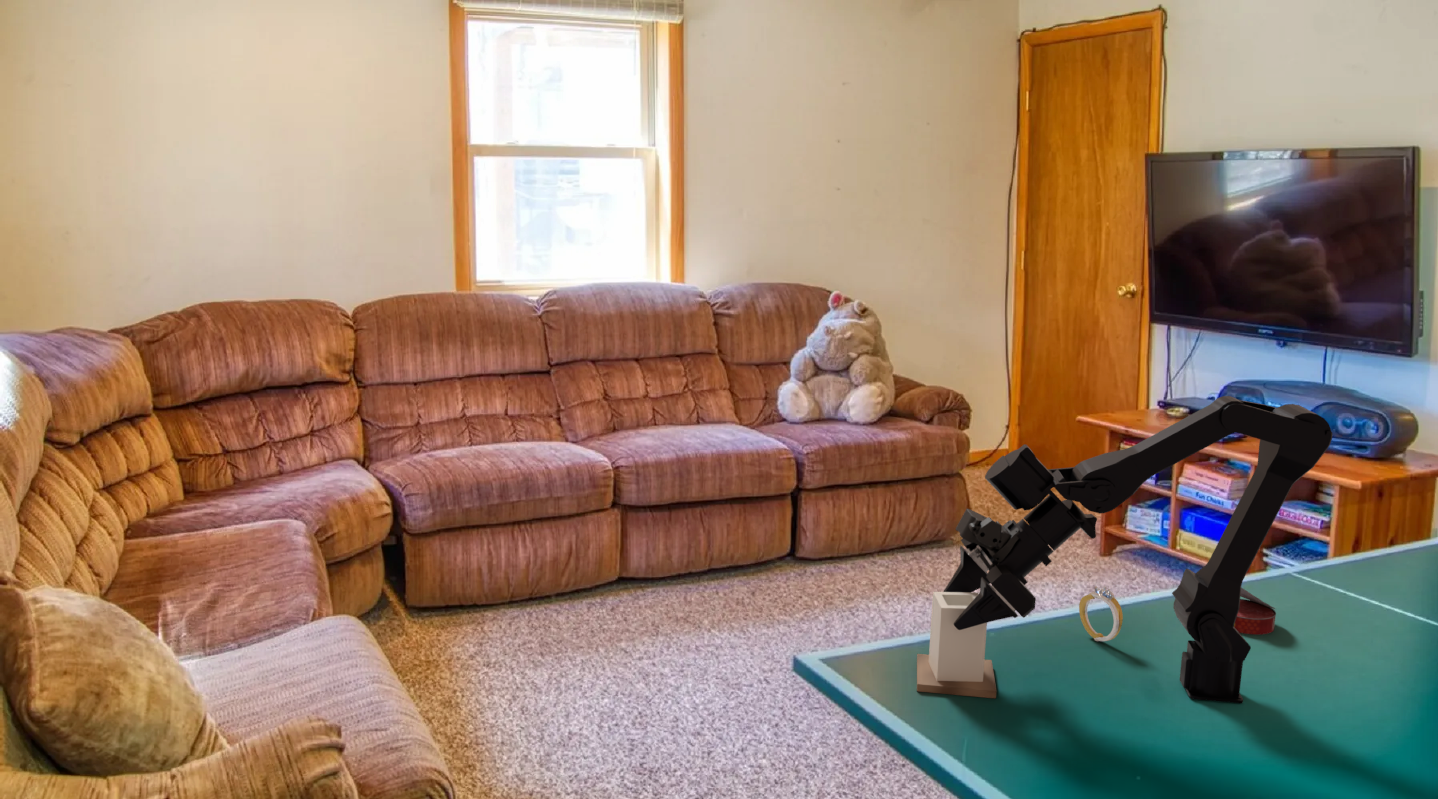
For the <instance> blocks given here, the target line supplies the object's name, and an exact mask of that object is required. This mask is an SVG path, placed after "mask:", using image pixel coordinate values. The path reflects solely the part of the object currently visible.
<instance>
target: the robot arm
mask: <svg viewBox="0 0 1438 799" xmlns="http://www.w3.org/2000/svg"><path fill="white" fill-rule="evenodd" d="M1233 434H1241V435H1244V436H1245V435H1246V436H1248V437H1251V438H1255V439H1258V440H1259V442H1258V443H1259V444H1258V445H1259V446H1258V454H1257V456H1258V457H1257V464H1256V469H1255V470H1254V472H1253V474H1252V476H1251V478H1250V480H1249V481H1248V484H1247V486H1246V488H1245V489H1244V492H1243V493H1242V496H1241V498H1240V499H1239V502H1238V504H1237V506H1236V507H1235V510H1234V511H1233V513H1232V515H1231V517H1230V519H1229V521H1228V523H1227V525H1226V527H1225V528H1224V531H1223V533H1222V534H1221V537H1220V539H1219V540H1218V543H1217V544H1216V547H1215V549H1214V550H1213V553H1212V554H1211V557H1210V558H1209V561H1208V562H1207V563H1206V564H1205V565H1204V566H1203V567H1201V568H1200V569H1199V570H1198V571H1196V572H1194V571H1193V570H1191V569H1189V568H1185V570H1184V572H1183V573H1182V578H1181V580H1180V583H1179V584H1178V586H1177V588H1176V589H1175V590H1173V591H1171V592H1172V593H1171V595H1172V596H1173V598H1174V602H1173V611H1174V613H1175V616H1176V618H1177V619H1178V621H1179V622H1180V623H1181V625H1182V626H1183V628H1184V629H1185V630H1186V631H1187V633H1188V634H1189V635H1190V637H1191V638H1192V640H1190V639H1189V640H1187V647H1186V651H1183V652H1182V654H1181V661H1180V662H1181V663H1180V671H1179V672H1180V674H1179V682H1180V684H1181V685H1182V688H1183V689H1184V690H1185V691H1186V693H1187V695H1188V697H1189V698H1190V699H1192V700H1198V701H1207V702H1208V701H1211V702H1219V703H1220V702H1221V703H1231V704H1233V703H1234V704H1243V703H1244V698H1243V696H1242V695H1241V693H1240V692H1241V683H1242V675H1243V674H1242V673H1243V665H1244V661H1245V660H1246V658H1247V656H1248V654H1249V653H1250V651H1251V645H1250V644H1249V642H1248V641H1247V640H1246V639H1245V638H1244V637H1243V635H1241V634H1242V633H1239V632H1238V631H1237V630H1236V629H1235V627H1234V624H1235V621H1236V617H1237V614H1238V611H1239V606H1240V599H1241V596H1240V595H1241V588H1242V585H1243V582H1244V579H1245V577H1246V575H1247V573H1248V572H1249V569H1250V568H1251V566H1252V564H1253V562H1254V560H1255V558H1256V556H1257V554H1258V552H1259V550H1260V549H1261V546H1262V545H1263V542H1264V541H1265V539H1266V537H1267V535H1268V533H1269V531H1270V530H1271V527H1272V525H1273V524H1274V521H1275V519H1276V518H1277V516H1278V514H1279V512H1280V510H1281V509H1282V506H1283V504H1284V502H1285V500H1286V498H1287V496H1288V495H1289V493H1290V491H1291V489H1292V488H1293V486H1294V484H1295V483H1296V482H1297V481H1299V480H1300V479H1301V478H1302V477H1303V476H1305V475H1306V474H1307V473H1308V472H1310V471H1311V470H1312V469H1313V468H1314V467H1315V466H1316V464H1317V463H1318V462H1319V461H1320V460H1321V458H1322V456H1324V454H1325V453H1326V452H1327V450H1328V449H1329V447H1330V445H1331V443H1332V439H1333V431H1332V429H1331V426H1330V424H1329V422H1328V421H1327V420H1326V418H1324V417H1322V416H1321V415H1319V414H1318V413H1315V412H1314V411H1312V410H1309V409H1308V408H1305V407H1303V406H1301V404H1300V405H1299V404H1295V403H1287V404H1283V405H1280V406H1272V405H1268V404H1263V403H1260V402H1259V403H1258V402H1251V401H1246V400H1241V399H1237V398H1236V397H1233V396H1230V395H1223V396H1220V397H1217V398H1216V399H1215V400H1213V402H1211V403H1210V404H1208V405H1206V406H1205V407H1203V408H1201V409H1199V410H1197V411H1195V412H1193V413H1191V414H1190V415H1188V416H1186V417H1185V418H1183V419H1180V420H1178V421H1177V422H1175V423H1173V424H1171V425H1169V426H1168V427H1166V428H1164V429H1162V430H1160V431H1158V432H1157V433H1155V434H1153V435H1151V436H1149V437H1147V438H1146V439H1144V440H1142V441H1140V442H1138V443H1137V444H1135V445H1133V446H1129V447H1127V448H1123V449H1118V450H1114V451H1110V452H1105V453H1102V454H1098V455H1096V456H1093V457H1090V458H1087V459H1084V460H1082V461H1080V462H1079V463H1078V464H1075V466H1072V467H1071V466H1070V467H1060V468H1050V469H1048V468H1047V467H1046V465H1044V464H1043V463H1042V462H1041V460H1039V458H1037V457H1036V455H1035V453H1034V452H1033V451H1032V449H1031V448H1030V447H1029V446H1028V444H1023V445H1022V446H1020V447H1019V448H1018V449H1015V450H1012V451H1011V452H1009V453H1007V454H1006V455H1002V456H1000V457H999V458H998V459H997V460H996V461H995V462H994V463H993V464H992V465H991V466H990V467H989V469H987V472H986V473H985V476H984V479H985V480H986V481H987V482H988V483H989V484H990V485H991V486H992V487H993V488H994V489H995V490H996V491H997V492H998V494H999V495H1000V496H1001V497H1002V498H1003V499H1004V500H1005V501H1006V502H1007V503H1008V504H1009V505H1010V507H1011V508H1013V510H1015V511H1016V510H1018V511H1019V510H1021V509H1022V510H1023V511H1029V512H1028V513H1027V514H1026V515H1025V516H1024V517H1023V518H1022V519H1020V520H1019V521H1018V522H1016V521H1015V520H1014V519H1012V520H1008V521H1006V523H1004V524H1001V523H1000V522H999V521H997V520H996V521H994V520H993V519H992V518H991V517H990V516H989V517H986V516H985V515H982V514H980V513H979V512H976V511H975V510H972V509H970V508H966V509H965V511H964V513H963V514H962V516H961V518H960V520H959V522H958V524H957V525H956V527H955V530H956V531H957V532H959V537H960V538H962V539H960V542H961V543H962V544H963V546H964V547H965V548H964V547H963V546H962V545H960V546H959V552H960V563H959V565H958V567H957V569H956V570H955V573H954V574H953V575H952V576H951V579H950V581H949V582H948V584H947V585H946V586H945V588H944V590H943V591H942V592H970V593H974V592H975V591H977V590H979V593H978V595H977V597H976V598H975V599H974V600H973V601H972V602H971V603H970V604H969V606H968V607H967V608H966V609H965V610H964V611H963V612H962V613H961V615H960V616H959V617H958V618H957V620H956V621H955V622H954V626H955V627H956V628H957V629H958V630H962V629H966V628H969V627H973V626H976V625H980V624H983V623H987V624H988V623H990V622H994V621H998V620H1003V619H1007V618H1014V619H1016V618H1018V617H1019V615H1020V617H1022V618H1025V617H1027V615H1029V614H1030V613H1031V612H1032V611H1034V610H1035V608H1036V601H1037V598H1036V597H1035V595H1034V594H1033V593H1032V592H1031V590H1030V589H1029V588H1028V587H1027V586H1026V585H1027V584H1028V580H1027V579H1026V578H1025V577H1027V576H1028V575H1029V574H1030V573H1031V572H1032V571H1034V569H1036V568H1037V567H1038V566H1040V564H1041V563H1042V564H1043V565H1044V566H1045V567H1047V566H1049V564H1050V563H1051V562H1053V561H1052V560H1051V559H1050V555H1052V554H1053V553H1054V552H1056V550H1058V549H1059V547H1061V546H1062V545H1063V544H1064V543H1065V542H1067V541H1068V539H1070V538H1071V537H1072V536H1073V535H1074V534H1076V533H1077V532H1078V531H1079V530H1080V529H1081V530H1082V531H1083V533H1085V534H1086V535H1087V536H1088V537H1089V538H1090V539H1096V537H1097V534H1096V532H1097V530H1096V526H1097V525H1096V524H1097V520H1098V518H1097V516H1095V515H1094V514H1092V513H1085V512H1083V510H1082V509H1081V508H1080V507H1079V506H1078V505H1077V504H1076V503H1075V502H1077V503H1079V504H1081V505H1082V507H1083V508H1085V509H1086V510H1088V511H1089V512H1093V513H1097V514H1106V513H1109V512H1112V511H1113V510H1115V509H1116V508H1118V507H1119V506H1120V505H1122V504H1123V503H1124V502H1126V501H1127V500H1128V499H1129V498H1131V497H1132V496H1133V495H1135V493H1136V492H1138V490H1139V489H1140V487H1142V485H1143V484H1144V483H1145V482H1146V481H1148V480H1149V479H1150V478H1152V477H1153V476H1155V475H1157V474H1159V473H1161V472H1162V471H1164V470H1166V469H1169V468H1170V467H1172V466H1174V465H1176V464H1178V463H1179V462H1181V461H1183V460H1186V459H1187V458H1189V457H1191V456H1193V455H1194V454H1196V453H1198V452H1200V451H1203V449H1206V448H1208V447H1209V446H1211V445H1213V444H1215V443H1217V442H1219V441H1221V440H1222V439H1224V438H1226V437H1228V436H1230V435H1233ZM1052 488H1054V489H1055V490H1056V491H1057V492H1058V493H1059V495H1061V496H1062V498H1063V499H1064V500H1061V499H1060V498H1059V497H1058V496H1057V494H1055V493H1054V491H1052ZM1018 614H1019V615H1018Z"/></svg>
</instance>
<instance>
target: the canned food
mask: <svg viewBox="0 0 1438 799" xmlns="http://www.w3.org/2000/svg"><path fill="white" fill-rule="evenodd" d="M1241 597H1242V598H1241ZM1276 615H1277V612H1276V608H1275V607H1273V606H1271V605H1270V604H1268V603H1267V602H1265V601H1263V600H1262V599H1260V598H1259V597H1257V596H1255V595H1253V594H1252V593H1251V592H1249V591H1247V590H1246V589H1245V588H1243V587H1241V595H1240V606H1239V611H1238V614H1237V617H1236V621H1235V624H1234V627H1235V629H1236V630H1237V631H1238V632H1239V633H1240V634H1246V635H1254V636H1255V635H1267V634H1270V633H1272V632H1274V631H1275V624H1276Z"/></svg>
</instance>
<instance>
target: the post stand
mask: <svg viewBox="0 0 1438 799" xmlns="http://www.w3.org/2000/svg"><path fill="white" fill-rule="evenodd" d="M992 661H993V660H992V659H984V673H983V682H970V681H937V680H936V678H935V675H934V673H933V671H932V669H931V666H930V664H929V654H923V653H917V655H916V691H917V692H921V693H932V694H944V695H956V696H964V697H976V698H977V697H978V698H988V699H996V698H997V686H996V679H995V673H994V668H993V667H994V666H993V662H992Z"/></svg>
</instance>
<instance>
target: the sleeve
mask: <svg viewBox="0 0 1438 799" xmlns="http://www.w3.org/2000/svg"><path fill="white" fill-rule="evenodd" d="M978 594H979V593H978V592H971V593H970V592H943V591H932V598H931V614H930V616H931V617H930V631H929V632H930V633H929V634H930V635H929V651H928V655H929V664H930V666H931V669H932V671H933V673H934V675H935V678H936V680H937V681H970V682H983V673H984V659H985V657H986V656H985V655H986V641H987V630H988V629H987V627H988V622H987V623H983V624H980V625H976V626H973V627H969V628H966V629H962V630H958V629H957V628H956V627H955V626H954V622H955V621H956V620H957V618H958V617H959V616H960V615H961V613H962V612H963V611H964V610H965V609H966V608H967V607H968V606H969V604H970V603H971V602H972V601H973V600H974V599H975V598H976V597H977V595H978ZM985 660H986V659H985Z"/></svg>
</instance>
